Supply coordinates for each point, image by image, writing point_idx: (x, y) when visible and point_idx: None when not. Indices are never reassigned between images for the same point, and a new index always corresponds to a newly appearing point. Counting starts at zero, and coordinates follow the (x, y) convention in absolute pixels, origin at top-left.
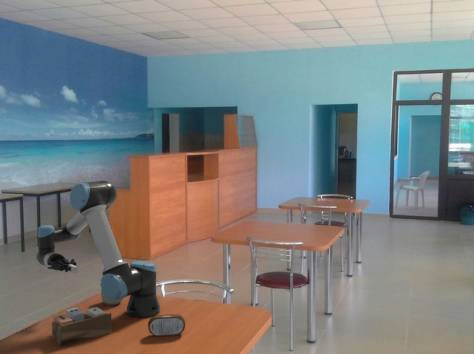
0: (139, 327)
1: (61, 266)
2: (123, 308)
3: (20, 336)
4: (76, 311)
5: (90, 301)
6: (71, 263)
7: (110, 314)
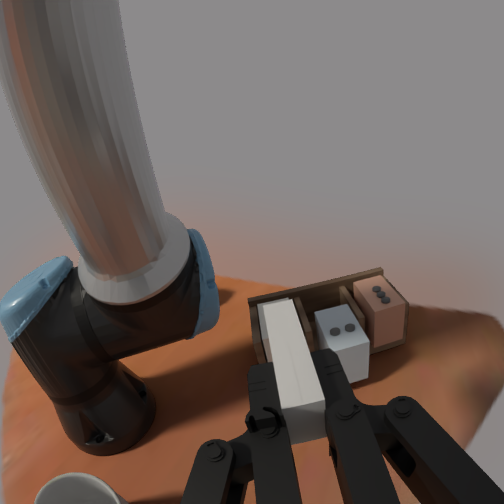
0: (189, 344)
1: (404, 402)
2: (125, 472)
3: (488, 366)
4: (335, 324)
5: None
6: (275, 410)
7: (250, 298)
